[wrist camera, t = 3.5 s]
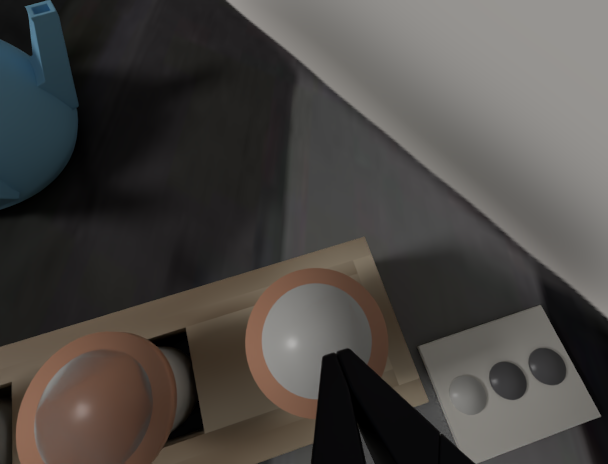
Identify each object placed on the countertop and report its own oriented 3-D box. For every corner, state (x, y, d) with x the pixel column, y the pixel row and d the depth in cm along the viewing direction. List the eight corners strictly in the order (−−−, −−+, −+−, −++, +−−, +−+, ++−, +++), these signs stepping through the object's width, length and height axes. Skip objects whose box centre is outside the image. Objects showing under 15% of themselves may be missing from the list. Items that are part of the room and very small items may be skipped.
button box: (390, 382, 21) (428, 401, 14) (6, 515, 19) (-161, 612, 12) (348, 266, 23) (364, 236, 16) (6, 372, 21) (-133, 387, 14)
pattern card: (595, 414, 20) (604, 417, 19) (464, 464, 19) (469, 468, 19) (536, 305, 22) (542, 304, 21) (416, 346, 21) (419, 346, 21)
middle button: (221, 429, 15) (182, 471, 10) (111, 467, 15) (17, 528, 10) (200, 320, 17) (158, 313, 12) (100, 352, 16) (15, 357, 11)
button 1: (380, 375, 16) (411, 390, 11) (279, 410, 15) (266, 441, 11) (344, 275, 17) (359, 251, 13) (252, 304, 17) (231, 290, 12)
